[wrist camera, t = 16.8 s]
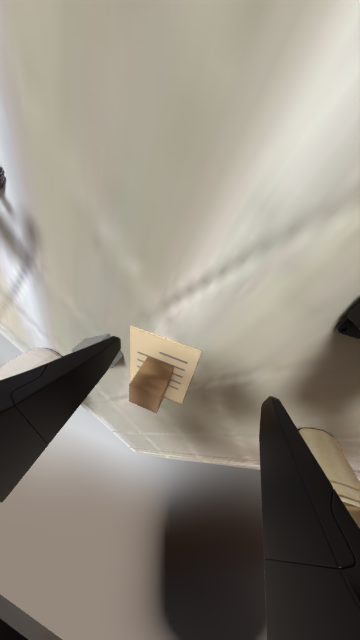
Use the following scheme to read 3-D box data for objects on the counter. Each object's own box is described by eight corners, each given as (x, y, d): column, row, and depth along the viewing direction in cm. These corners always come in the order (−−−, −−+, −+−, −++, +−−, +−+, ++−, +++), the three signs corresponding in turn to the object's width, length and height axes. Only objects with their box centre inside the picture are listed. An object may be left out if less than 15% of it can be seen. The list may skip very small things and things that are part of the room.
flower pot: (358, 454, 26) (400, 541, 19) (292, 452, 31) (307, 520, 24) (337, 419, 24) (375, 504, 17) (269, 423, 29) (278, 489, 22)
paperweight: (109, 333, 30) (95, 345, 27) (124, 353, 32) (112, 367, 29) (85, 338, 33) (71, 349, 30) (100, 356, 35) (87, 369, 32)
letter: (201, 351, 25) (201, 352, 25) (181, 403, 34) (181, 404, 34) (130, 325, 26) (130, 325, 26) (130, 381, 36) (129, 382, 36)
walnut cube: (174, 366, 28) (160, 397, 24) (169, 382, 31) (156, 413, 27) (148, 356, 29) (129, 384, 24) (146, 372, 32) (129, 401, 27)
